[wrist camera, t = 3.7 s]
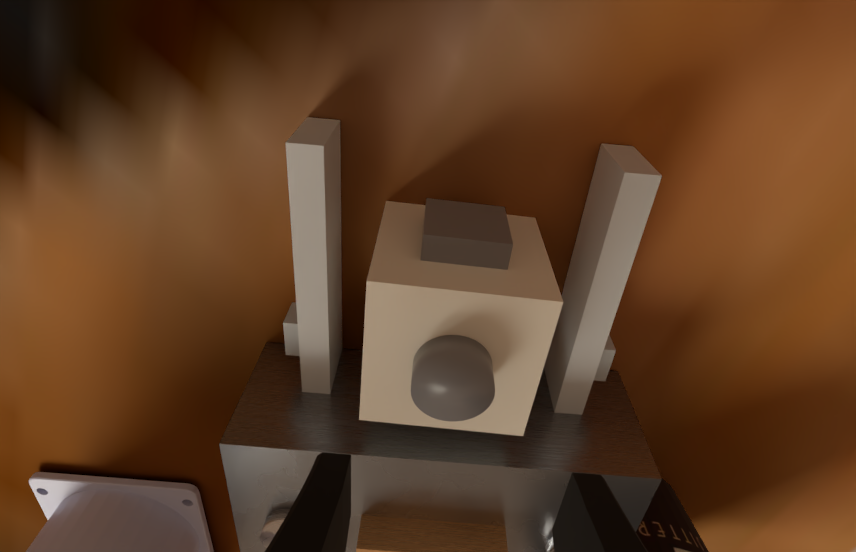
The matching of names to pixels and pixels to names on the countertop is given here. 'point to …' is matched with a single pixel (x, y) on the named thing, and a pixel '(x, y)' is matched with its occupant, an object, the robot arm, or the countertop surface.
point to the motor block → (425, 464)
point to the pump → (456, 317)
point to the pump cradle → (582, 294)
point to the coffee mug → (668, 525)
